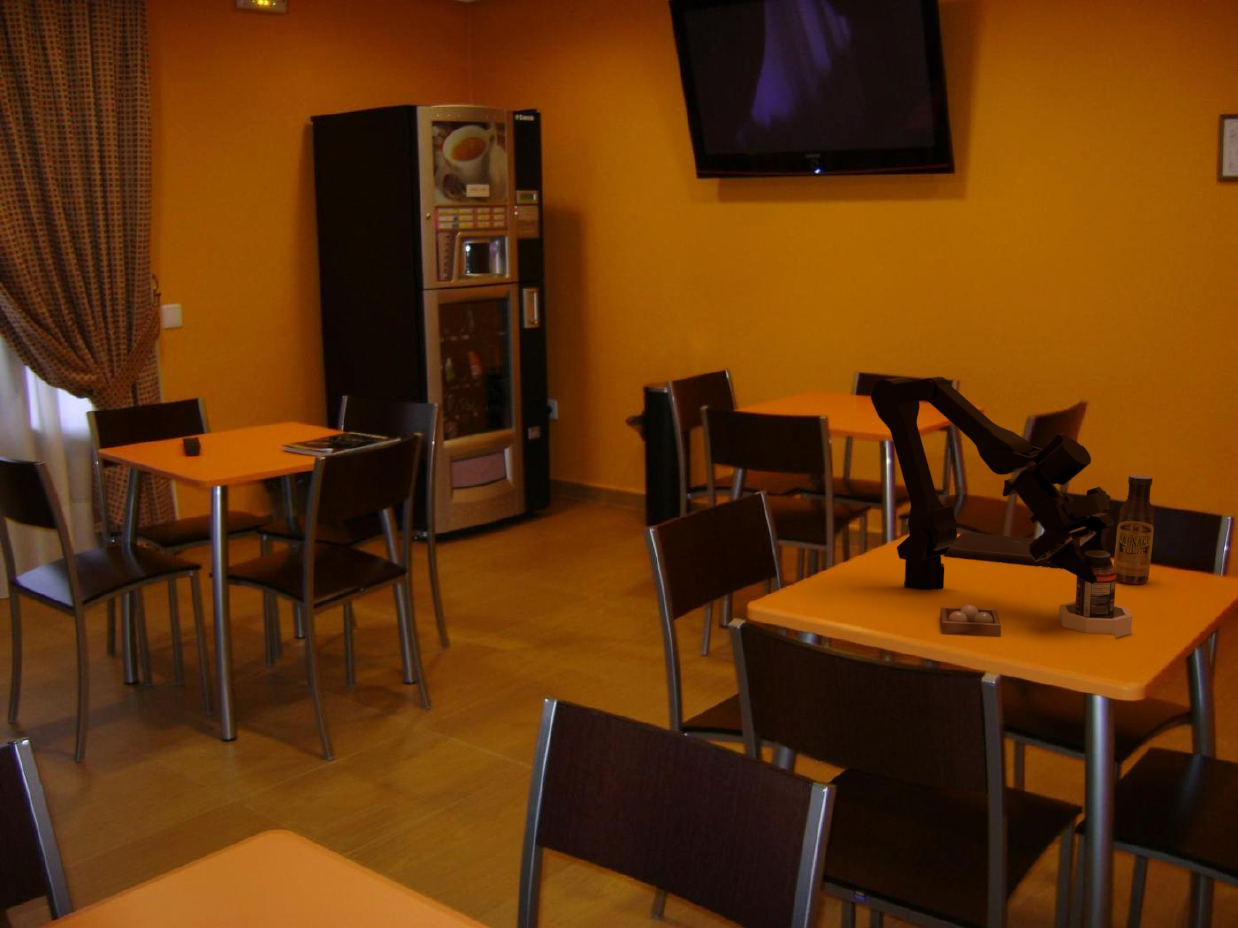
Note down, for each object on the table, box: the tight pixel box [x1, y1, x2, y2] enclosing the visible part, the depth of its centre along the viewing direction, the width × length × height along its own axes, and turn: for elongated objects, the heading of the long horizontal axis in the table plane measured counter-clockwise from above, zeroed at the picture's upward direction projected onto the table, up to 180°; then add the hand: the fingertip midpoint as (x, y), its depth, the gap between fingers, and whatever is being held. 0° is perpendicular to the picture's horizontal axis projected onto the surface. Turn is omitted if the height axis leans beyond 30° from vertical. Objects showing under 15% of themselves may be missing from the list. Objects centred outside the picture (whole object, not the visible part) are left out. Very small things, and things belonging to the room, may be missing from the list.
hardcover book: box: [943, 531, 1064, 570], centre depth 257 cm, size 16×23×2 cm
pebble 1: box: [948, 611, 968, 622], centre depth 206 cm, size 3×3×3 cm
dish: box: [1058, 600, 1133, 639], centre depth 208 cm, size 11×11×3 cm
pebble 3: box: [974, 612, 993, 623], centre depth 205 cm, size 3×3×3 cm
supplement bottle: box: [1075, 550, 1117, 619], centre depth 207 cm, size 6×6×11 cm
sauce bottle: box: [1113, 474, 1156, 585], centre depth 234 cm, size 7×6×20 cm
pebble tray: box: [939, 606, 1002, 637], centre depth 207 cm, size 9×9×3 cm
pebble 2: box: [960, 604, 979, 622], centre depth 209 cm, size 3×3×3 cm
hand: (1104, 578), depth 206 cm, fingers closed on supplement bottle, 6 cm apart
